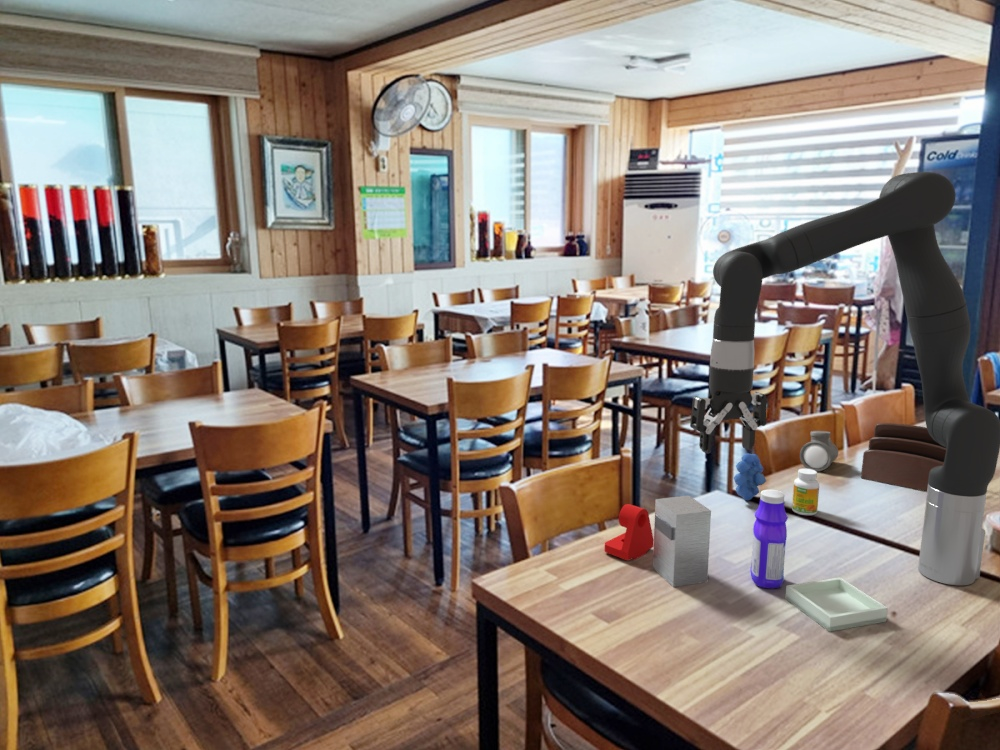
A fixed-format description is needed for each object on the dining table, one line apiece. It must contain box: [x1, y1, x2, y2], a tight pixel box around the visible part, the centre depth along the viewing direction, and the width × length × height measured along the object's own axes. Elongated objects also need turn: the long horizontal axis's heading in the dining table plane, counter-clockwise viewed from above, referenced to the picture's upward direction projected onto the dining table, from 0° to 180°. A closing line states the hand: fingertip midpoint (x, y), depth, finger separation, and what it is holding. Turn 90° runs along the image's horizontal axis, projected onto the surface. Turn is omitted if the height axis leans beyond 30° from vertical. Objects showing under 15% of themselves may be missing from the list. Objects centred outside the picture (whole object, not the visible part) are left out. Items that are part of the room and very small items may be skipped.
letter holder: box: [860, 422, 947, 493], centre depth 187 cm, size 10×20×14 cm, turn 49°
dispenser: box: [652, 494, 712, 588], centre depth 138 cm, size 8×8×14 cm
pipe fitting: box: [799, 430, 839, 473], centre depth 200 cm, size 12×8×10 cm
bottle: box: [750, 488, 789, 589], centre depth 135 cm, size 7×6×17 cm
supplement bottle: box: [791, 468, 820, 516], centre depth 168 cm, size 5×5×10 cm
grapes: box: [733, 453, 767, 501], centre depth 175 cm, size 12×7×12 cm, turn 135°
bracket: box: [603, 503, 654, 562], centre depth 148 cm, size 9×6×10 cm
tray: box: [785, 577, 888, 633], centre depth 126 cm, size 11×11×2 cm
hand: (726, 450), depth 136 cm, fingers open, 8 cm apart
